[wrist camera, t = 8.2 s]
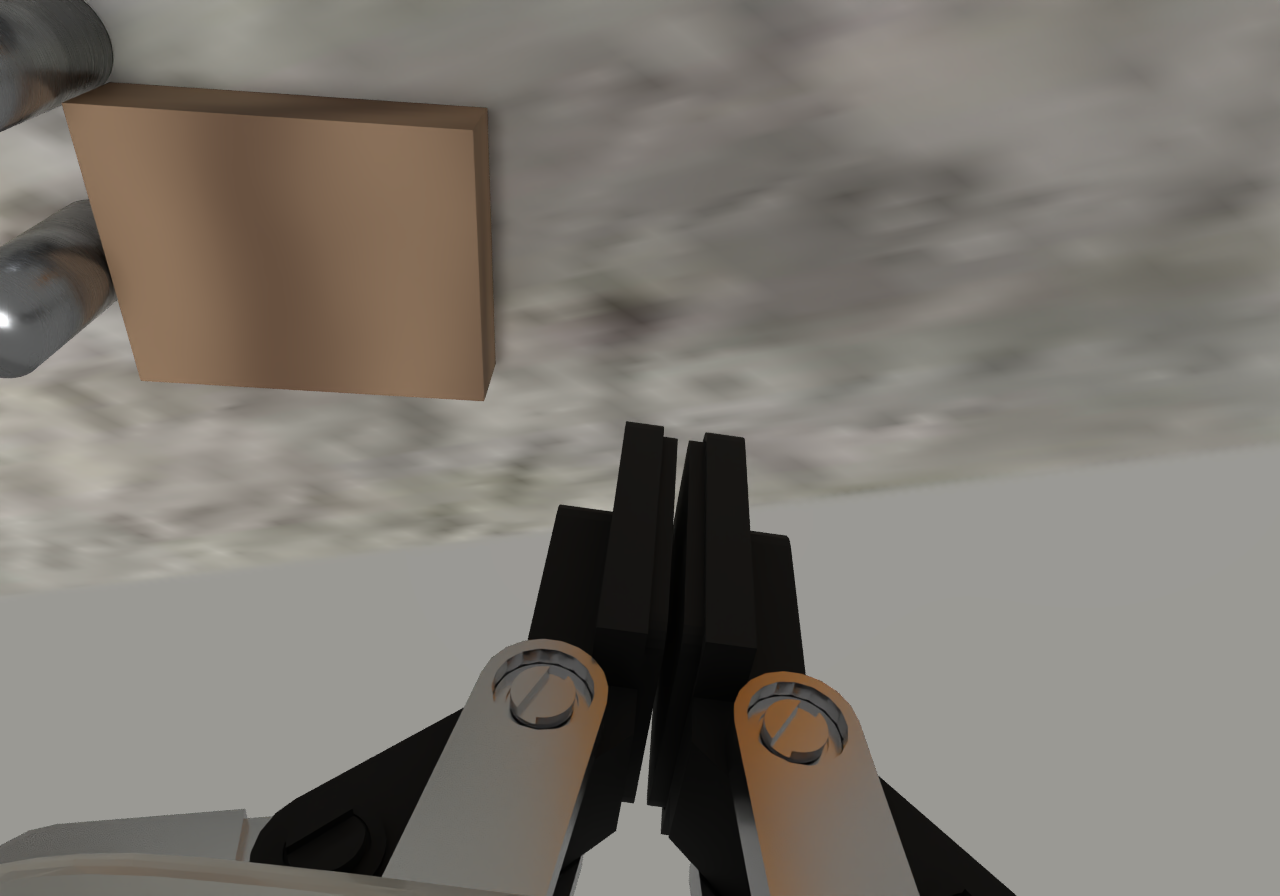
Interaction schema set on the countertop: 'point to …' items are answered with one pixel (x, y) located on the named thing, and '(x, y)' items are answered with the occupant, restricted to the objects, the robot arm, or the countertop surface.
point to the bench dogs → (68, 240)
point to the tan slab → (294, 237)
